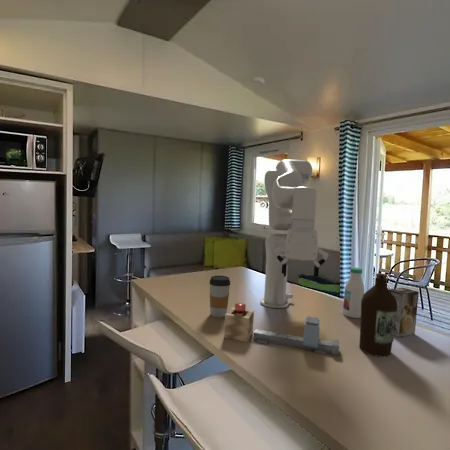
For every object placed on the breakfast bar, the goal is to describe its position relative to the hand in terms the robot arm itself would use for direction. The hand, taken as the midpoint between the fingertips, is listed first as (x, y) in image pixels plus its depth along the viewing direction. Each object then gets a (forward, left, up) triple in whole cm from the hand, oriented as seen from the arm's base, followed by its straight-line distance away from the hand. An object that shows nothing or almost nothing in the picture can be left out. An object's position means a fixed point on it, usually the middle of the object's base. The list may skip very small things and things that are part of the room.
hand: (299, 277), depth 112 cm
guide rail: (+3, +1, -22) cm, 22 cm away
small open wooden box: (+14, -13, -22) cm, 29 cm away
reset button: (+14, -13, -17) cm, 25 cm away
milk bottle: (-41, -7, -22) cm, 47 cm away
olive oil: (-19, +17, -22) cm, 34 cm away
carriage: (-1, +6, -20) cm, 21 cm away
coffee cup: (+9, -33, -22) cm, 41 cm away
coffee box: (-41, +13, -22) cm, 48 cm away
